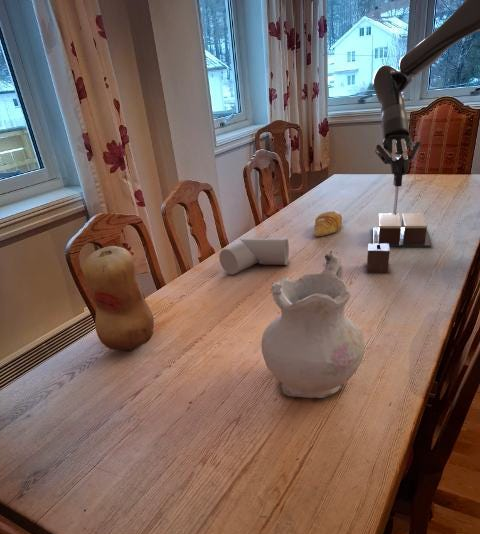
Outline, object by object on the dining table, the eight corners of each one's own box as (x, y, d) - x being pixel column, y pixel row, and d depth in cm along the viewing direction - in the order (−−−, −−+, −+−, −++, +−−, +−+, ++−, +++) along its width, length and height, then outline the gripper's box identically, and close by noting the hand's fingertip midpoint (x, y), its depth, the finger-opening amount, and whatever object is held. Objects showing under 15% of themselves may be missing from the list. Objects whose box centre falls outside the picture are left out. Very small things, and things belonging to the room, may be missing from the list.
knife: (396, 212, 138) (401, 157, 130) (398, 215, 136) (404, 158, 127) (390, 212, 138) (395, 157, 130) (392, 215, 136) (397, 159, 127)
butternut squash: (93, 362, 100) (61, 263, 88) (115, 331, 112) (89, 240, 99) (149, 362, 98) (125, 261, 86) (166, 331, 110) (146, 238, 97)
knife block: (387, 264, 133) (389, 243, 129) (387, 273, 128) (389, 250, 124) (366, 264, 134) (368, 243, 131) (366, 272, 129) (368, 250, 126)
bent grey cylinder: (257, 247, 152) (215, 266, 141) (260, 219, 146) (217, 237, 134) (296, 267, 143) (255, 290, 131) (301, 239, 136) (258, 260, 125)
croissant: (323, 248, 158) (332, 231, 153) (301, 233, 160) (309, 216, 155) (344, 229, 173) (354, 212, 167) (324, 215, 175) (333, 199, 169)
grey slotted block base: (424, 229, 156) (427, 211, 153) (430, 247, 141) (433, 227, 138) (373, 229, 161) (374, 211, 157) (373, 247, 146) (374, 227, 143)
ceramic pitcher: (286, 347, 100) (273, 247, 89) (372, 353, 93) (370, 244, 81) (255, 408, 83) (234, 294, 72) (358, 422, 76) (353, 296, 64)
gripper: (374, 118, 130) (379, 168, 126) (421, 114, 129) (428, 164, 124) (369, 134, 137) (374, 182, 133) (414, 130, 136) (420, 179, 132)
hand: (400, 173), depth 129 cm, fingers closed on knife, 2 cm apart
